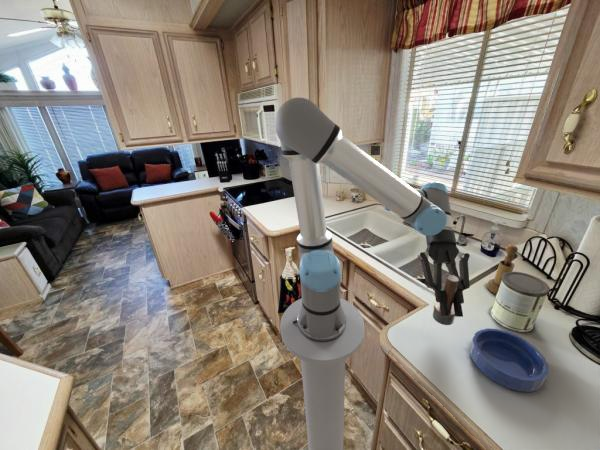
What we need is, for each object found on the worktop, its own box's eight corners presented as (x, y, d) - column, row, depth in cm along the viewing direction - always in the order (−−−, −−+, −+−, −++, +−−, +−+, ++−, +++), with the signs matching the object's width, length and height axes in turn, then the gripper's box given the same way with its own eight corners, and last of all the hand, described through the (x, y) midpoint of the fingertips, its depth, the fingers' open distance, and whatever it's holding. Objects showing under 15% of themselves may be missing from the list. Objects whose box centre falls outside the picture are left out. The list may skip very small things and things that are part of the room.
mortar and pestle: (513, 291, 87) (530, 247, 80) (504, 298, 84) (520, 253, 77) (492, 281, 92) (506, 239, 85) (483, 288, 90) (496, 244, 82)
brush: (436, 325, 69) (445, 284, 63) (429, 310, 74) (437, 271, 68) (457, 326, 68) (469, 285, 62) (449, 311, 73) (459, 272, 67)
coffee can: (489, 302, 83) (501, 267, 77) (530, 314, 77) (546, 277, 72) (490, 323, 75) (503, 286, 69) (535, 337, 70) (554, 298, 64)
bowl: (487, 390, 58) (492, 377, 56) (459, 338, 71) (462, 327, 69) (558, 396, 56) (566, 383, 54) (516, 341, 69) (521, 330, 67)
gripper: (415, 227, 71) (425, 314, 63) (475, 228, 69) (493, 317, 61) (407, 235, 78) (415, 314, 70) (462, 236, 76) (476, 317, 68)
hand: (451, 316), depth 65 cm, fingers closed on brush, 3 cm apart
